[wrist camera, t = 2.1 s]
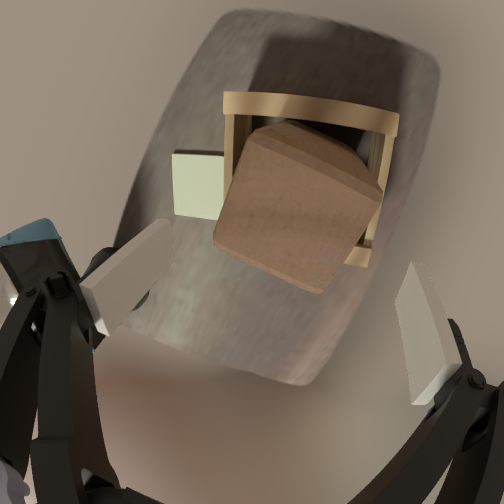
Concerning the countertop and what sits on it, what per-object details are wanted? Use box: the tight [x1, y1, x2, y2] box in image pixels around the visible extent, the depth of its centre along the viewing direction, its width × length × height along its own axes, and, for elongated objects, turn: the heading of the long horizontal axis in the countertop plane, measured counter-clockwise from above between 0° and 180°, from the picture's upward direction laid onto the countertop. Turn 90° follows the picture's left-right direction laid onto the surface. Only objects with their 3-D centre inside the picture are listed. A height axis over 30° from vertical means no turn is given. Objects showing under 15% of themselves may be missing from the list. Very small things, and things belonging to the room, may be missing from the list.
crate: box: [223, 92, 399, 268], centre depth 31 cm, size 18×18×9 cm
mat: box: [172, 154, 224, 220], centre depth 40 cm, size 10×10×1 cm
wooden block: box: [213, 120, 383, 294], centre depth 27 cm, size 10×10×20 cm
